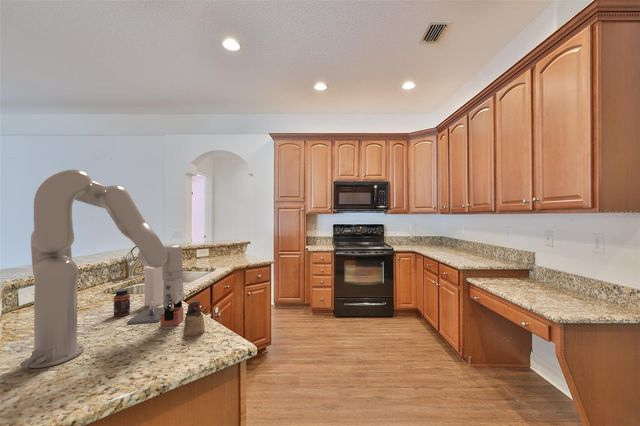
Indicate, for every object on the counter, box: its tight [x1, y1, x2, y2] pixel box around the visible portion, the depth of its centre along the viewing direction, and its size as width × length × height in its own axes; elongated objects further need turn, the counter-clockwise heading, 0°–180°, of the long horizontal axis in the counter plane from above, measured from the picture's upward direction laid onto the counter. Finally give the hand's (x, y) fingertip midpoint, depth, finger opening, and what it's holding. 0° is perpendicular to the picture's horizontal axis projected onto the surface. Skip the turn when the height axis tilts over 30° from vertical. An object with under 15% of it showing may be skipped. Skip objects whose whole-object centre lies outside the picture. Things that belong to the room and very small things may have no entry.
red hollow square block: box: [160, 306, 184, 327], centre depth 108 cm, size 6×6×5 cm
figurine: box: [183, 300, 206, 338], centre depth 98 cm, size 7×7×12 cm
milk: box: [144, 266, 164, 307], centre depth 132 cm, size 6×6×22 cm
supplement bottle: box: [113, 288, 131, 318], centre depth 117 cm, size 6×6×11 cm
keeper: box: [126, 302, 164, 325], centre depth 116 cm, size 16×12×6 cm
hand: (173, 315), depth 109 cm, fingers open, 9 cm apart
